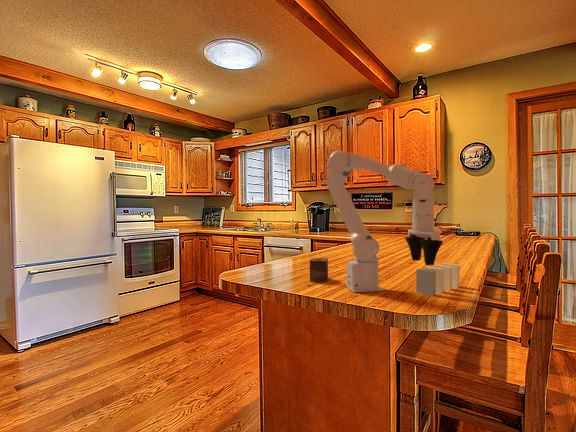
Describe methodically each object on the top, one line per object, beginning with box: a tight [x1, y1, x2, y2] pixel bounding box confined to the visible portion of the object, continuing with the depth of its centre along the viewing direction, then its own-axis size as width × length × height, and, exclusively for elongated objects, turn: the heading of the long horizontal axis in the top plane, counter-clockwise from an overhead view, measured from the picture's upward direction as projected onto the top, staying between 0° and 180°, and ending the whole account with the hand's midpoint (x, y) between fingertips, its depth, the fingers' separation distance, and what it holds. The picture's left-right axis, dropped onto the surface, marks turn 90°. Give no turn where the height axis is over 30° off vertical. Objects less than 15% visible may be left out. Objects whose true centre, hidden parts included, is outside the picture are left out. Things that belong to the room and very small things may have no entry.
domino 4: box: [441, 262, 461, 289], centre depth 101 cm, size 2×5×7 cm, turn 37°
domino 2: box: [424, 266, 445, 294], centre depth 95 cm, size 2×5×7 cm, turn 37°
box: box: [309, 257, 329, 283], centre depth 110 cm, size 6×6×7 cm
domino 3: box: [433, 264, 453, 291], centre depth 98 cm, size 2×5×7 cm, turn 37°
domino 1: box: [415, 268, 437, 297], centre depth 92 cm, size 2×5×7 cm, turn 37°
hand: (422, 262), depth 91 cm, fingers open, 7 cm apart
